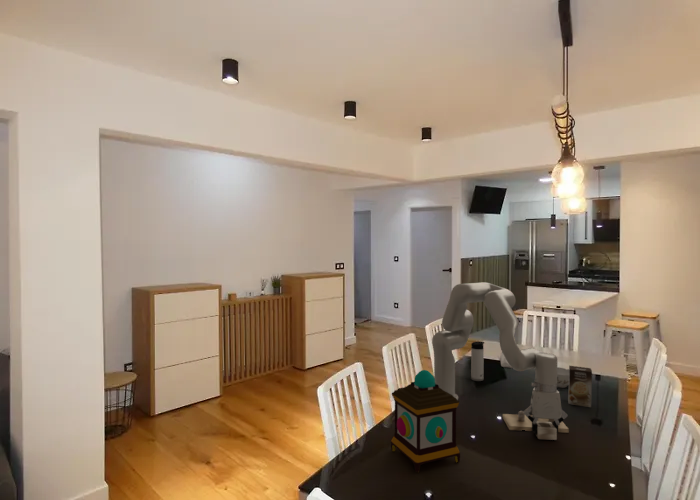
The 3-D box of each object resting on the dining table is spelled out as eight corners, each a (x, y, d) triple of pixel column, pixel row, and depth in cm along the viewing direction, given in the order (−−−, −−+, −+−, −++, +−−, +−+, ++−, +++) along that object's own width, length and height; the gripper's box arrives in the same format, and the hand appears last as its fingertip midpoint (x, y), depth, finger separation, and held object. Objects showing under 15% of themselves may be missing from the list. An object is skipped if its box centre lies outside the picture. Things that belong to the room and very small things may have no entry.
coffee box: (568, 404, 200) (568, 369, 199) (568, 399, 205) (568, 365, 205) (591, 407, 196) (592, 371, 195) (590, 402, 202) (591, 367, 201)
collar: (538, 439, 164) (538, 428, 164) (533, 431, 171) (533, 421, 171) (556, 440, 164) (556, 429, 164) (550, 432, 170) (551, 421, 170)
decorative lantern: (414, 477, 139) (415, 382, 139) (385, 449, 158) (385, 365, 157) (466, 464, 147) (467, 374, 147) (432, 439, 166) (432, 359, 165)
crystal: (518, 362, 253) (515, 352, 276) (506, 355, 255) (505, 345, 278) (511, 373, 254) (509, 362, 277) (500, 366, 256) (499, 355, 279)
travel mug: (484, 381, 231) (484, 343, 231) (471, 380, 233) (471, 342, 232) (483, 377, 237) (483, 340, 237) (470, 377, 239) (470, 340, 238)
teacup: (572, 391, 216) (573, 375, 216) (545, 387, 222) (545, 371, 222) (574, 383, 229) (574, 367, 229) (548, 379, 235) (548, 364, 235)
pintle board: (509, 429, 173) (509, 415, 173) (502, 417, 185) (502, 403, 185) (568, 432, 171) (568, 417, 171) (557, 419, 183) (558, 406, 182)
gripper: (524, 389, 164) (523, 436, 164) (573, 391, 162) (572, 439, 162) (519, 382, 171) (518, 428, 172) (566, 384, 169) (565, 430, 170)
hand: (544, 433), depth 167 cm, fingers closed on collar, 6 cm apart
